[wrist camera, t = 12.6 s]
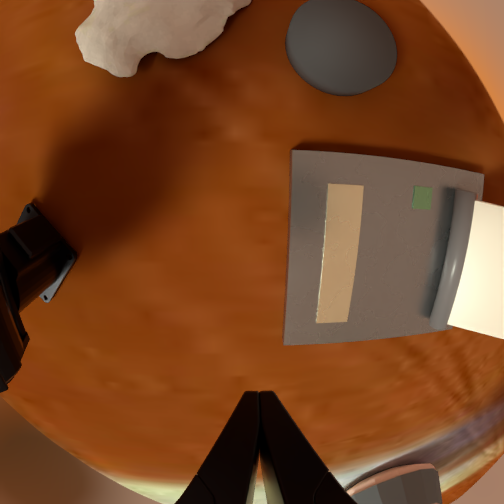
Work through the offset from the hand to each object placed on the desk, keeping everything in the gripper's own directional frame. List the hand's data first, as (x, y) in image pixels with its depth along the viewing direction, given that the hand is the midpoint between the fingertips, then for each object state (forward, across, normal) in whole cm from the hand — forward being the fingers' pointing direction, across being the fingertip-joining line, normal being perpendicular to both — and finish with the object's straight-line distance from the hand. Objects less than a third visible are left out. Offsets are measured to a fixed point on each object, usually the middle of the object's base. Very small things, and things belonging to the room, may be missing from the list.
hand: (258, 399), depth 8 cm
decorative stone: (+14, +6, -19) cm, 24 cm away
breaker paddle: (+11, -15, 0) cm, 19 cm away
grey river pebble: (+13, -6, -14) cm, 20 cm away
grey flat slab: (+13, -10, 0) cm, 17 cm away
